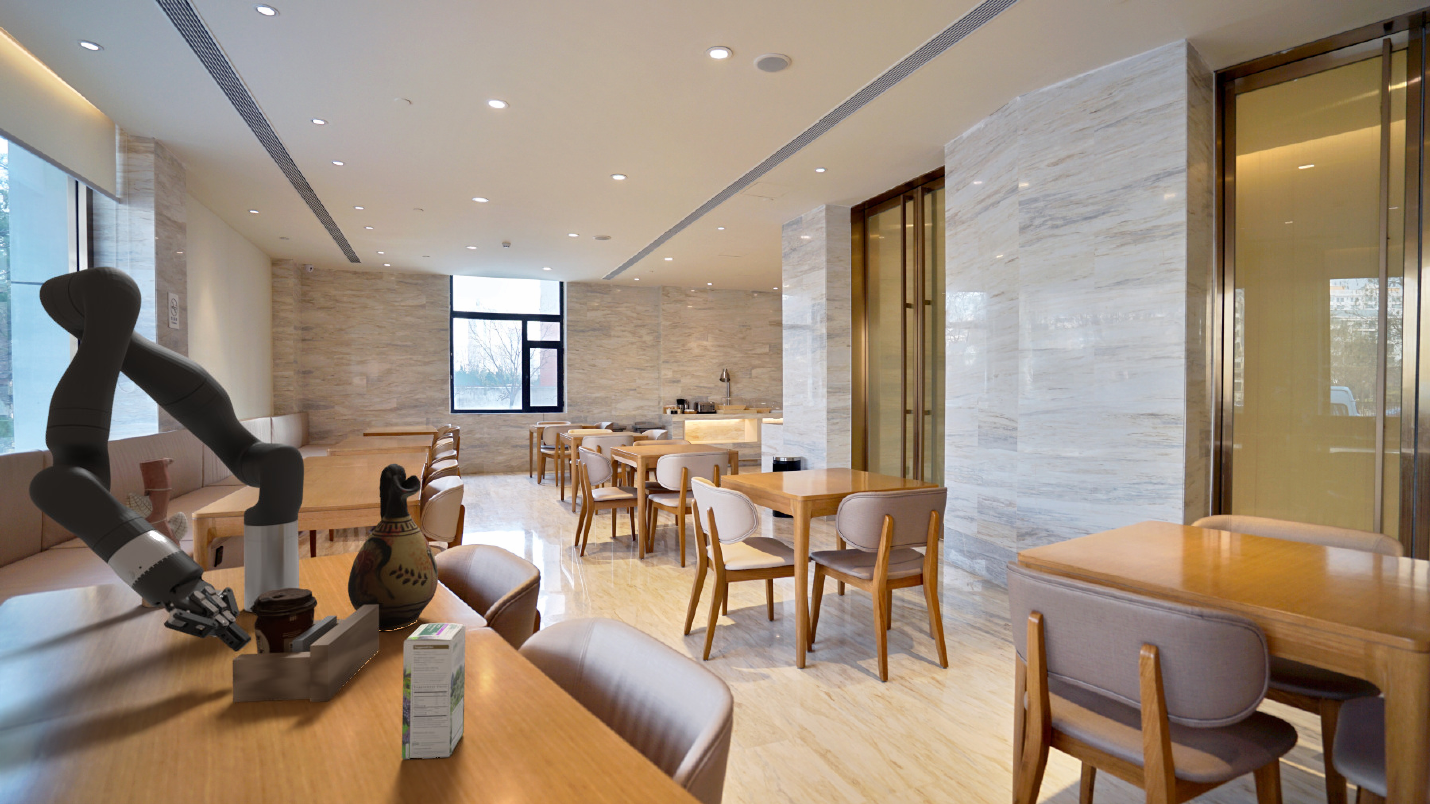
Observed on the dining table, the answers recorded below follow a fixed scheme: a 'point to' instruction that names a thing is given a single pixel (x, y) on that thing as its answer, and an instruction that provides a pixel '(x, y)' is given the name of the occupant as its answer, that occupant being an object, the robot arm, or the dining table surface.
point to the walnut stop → (310, 663)
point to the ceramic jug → (394, 558)
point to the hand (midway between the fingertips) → (244, 645)
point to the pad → (313, 634)
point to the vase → (158, 502)
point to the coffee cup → (282, 618)
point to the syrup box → (433, 690)
